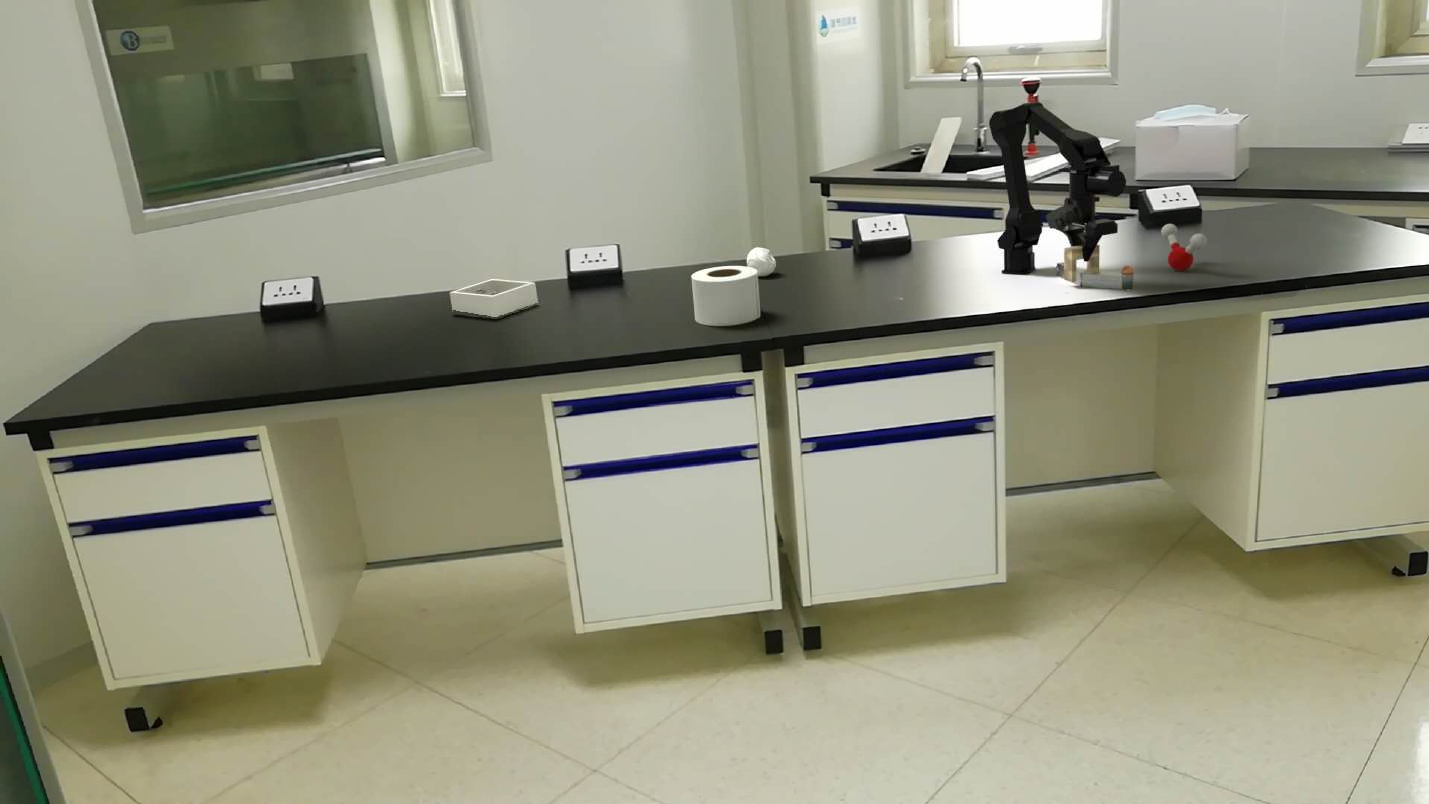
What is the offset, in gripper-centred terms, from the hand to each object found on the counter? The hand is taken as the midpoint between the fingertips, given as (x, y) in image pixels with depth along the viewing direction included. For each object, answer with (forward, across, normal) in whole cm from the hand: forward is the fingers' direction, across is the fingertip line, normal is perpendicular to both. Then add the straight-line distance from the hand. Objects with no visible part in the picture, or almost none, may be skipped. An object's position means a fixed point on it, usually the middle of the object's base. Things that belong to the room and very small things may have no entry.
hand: (1081, 260), depth 269 cm
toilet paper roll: (+6, -26, -79) cm, 83 cm away
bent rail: (+6, -1, +4) cm, 7 cm away
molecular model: (+6, +3, +25) cm, 26 cm away
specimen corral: (+6, -72, -127) cm, 146 cm away
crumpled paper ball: (+6, -61, -57) cm, 83 cm away
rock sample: (+6, -70, -128) cm, 146 cm away
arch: (+4, 0, 0) cm, 4 cm away
